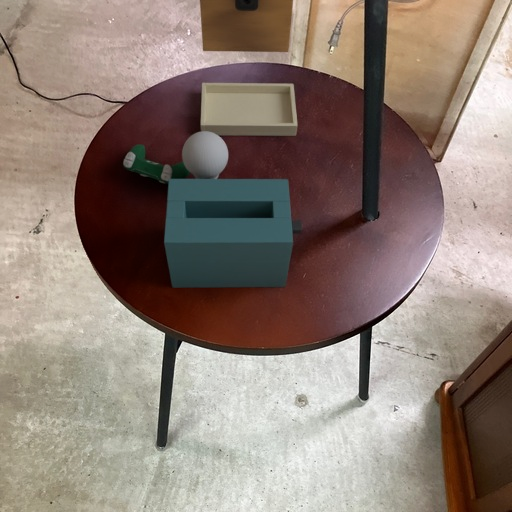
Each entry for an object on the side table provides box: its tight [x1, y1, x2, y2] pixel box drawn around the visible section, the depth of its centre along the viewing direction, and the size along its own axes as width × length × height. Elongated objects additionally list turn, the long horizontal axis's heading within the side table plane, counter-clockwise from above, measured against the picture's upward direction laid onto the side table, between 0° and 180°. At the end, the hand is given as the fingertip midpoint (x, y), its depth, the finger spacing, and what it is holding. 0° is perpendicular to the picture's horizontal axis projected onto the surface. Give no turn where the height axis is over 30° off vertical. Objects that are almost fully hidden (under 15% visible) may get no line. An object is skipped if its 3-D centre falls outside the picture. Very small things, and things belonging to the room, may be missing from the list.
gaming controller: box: [122, 143, 191, 185], centre depth 76 cm, size 9×4×6 cm
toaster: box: [163, 178, 303, 289], centre depth 66 cm, size 16×9×10 cm, turn 92°
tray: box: [200, 82, 298, 137], centre depth 84 cm, size 14×9×2 cm, turn 92°
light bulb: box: [181, 130, 229, 179], centre depth 72 cm, size 6×6×10 cm
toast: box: [199, 0, 294, 53], centre depth 54 cm, size 9×1×10 cm, turn 91°
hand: (246, 2), depth 54 cm, fingers closed on toast, 1 cm apart
